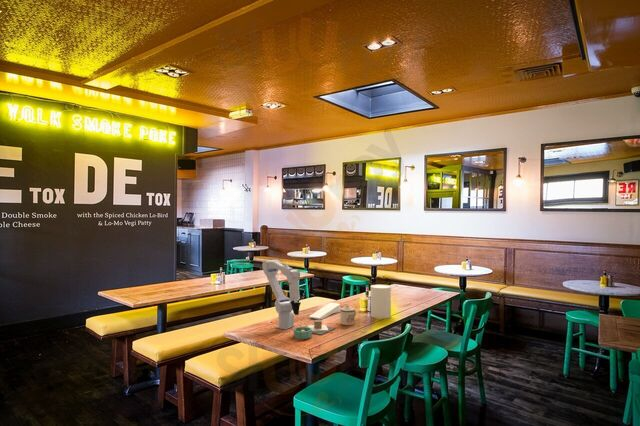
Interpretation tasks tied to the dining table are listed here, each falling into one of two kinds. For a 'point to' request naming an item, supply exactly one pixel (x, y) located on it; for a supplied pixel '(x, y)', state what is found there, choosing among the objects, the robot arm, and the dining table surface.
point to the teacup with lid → (347, 315)
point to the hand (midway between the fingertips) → (296, 313)
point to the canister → (380, 301)
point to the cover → (318, 326)
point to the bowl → (302, 332)
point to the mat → (324, 331)
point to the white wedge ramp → (326, 311)
